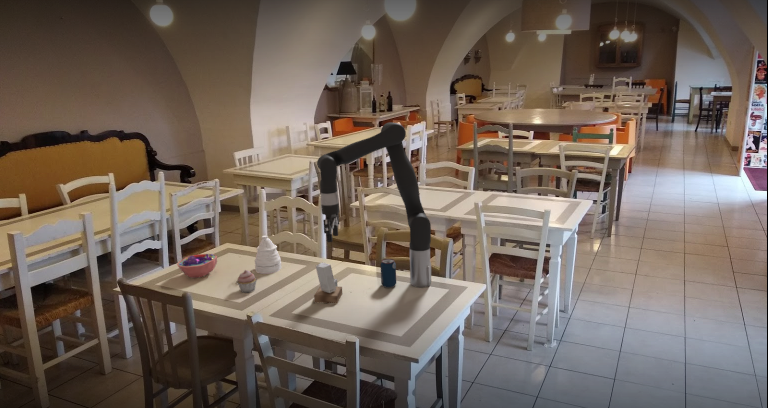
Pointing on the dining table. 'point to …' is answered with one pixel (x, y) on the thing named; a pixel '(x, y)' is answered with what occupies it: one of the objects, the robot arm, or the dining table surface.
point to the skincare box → (326, 277)
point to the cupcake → (246, 281)
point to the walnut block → (328, 296)
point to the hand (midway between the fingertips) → (332, 238)
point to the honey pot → (267, 257)
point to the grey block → (336, 282)
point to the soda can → (388, 273)
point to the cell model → (198, 265)
